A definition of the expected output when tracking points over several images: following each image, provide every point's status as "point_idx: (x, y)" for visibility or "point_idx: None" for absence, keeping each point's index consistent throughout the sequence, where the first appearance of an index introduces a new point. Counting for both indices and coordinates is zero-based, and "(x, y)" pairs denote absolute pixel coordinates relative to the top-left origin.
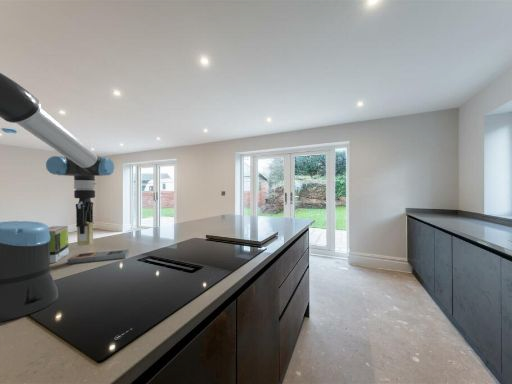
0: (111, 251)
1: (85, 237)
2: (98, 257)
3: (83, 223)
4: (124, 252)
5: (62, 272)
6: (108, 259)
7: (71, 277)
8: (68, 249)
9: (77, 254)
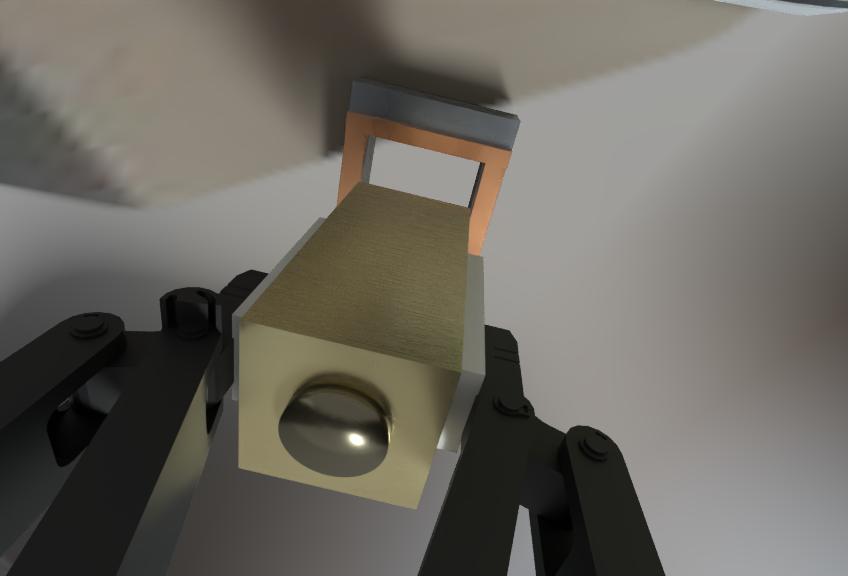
0: None
1: None
2: None
3: (80, 422)
4: None
5: (147, 80)
6: None
7: (34, 151)
8: (833, 12)
9: (473, 143)
